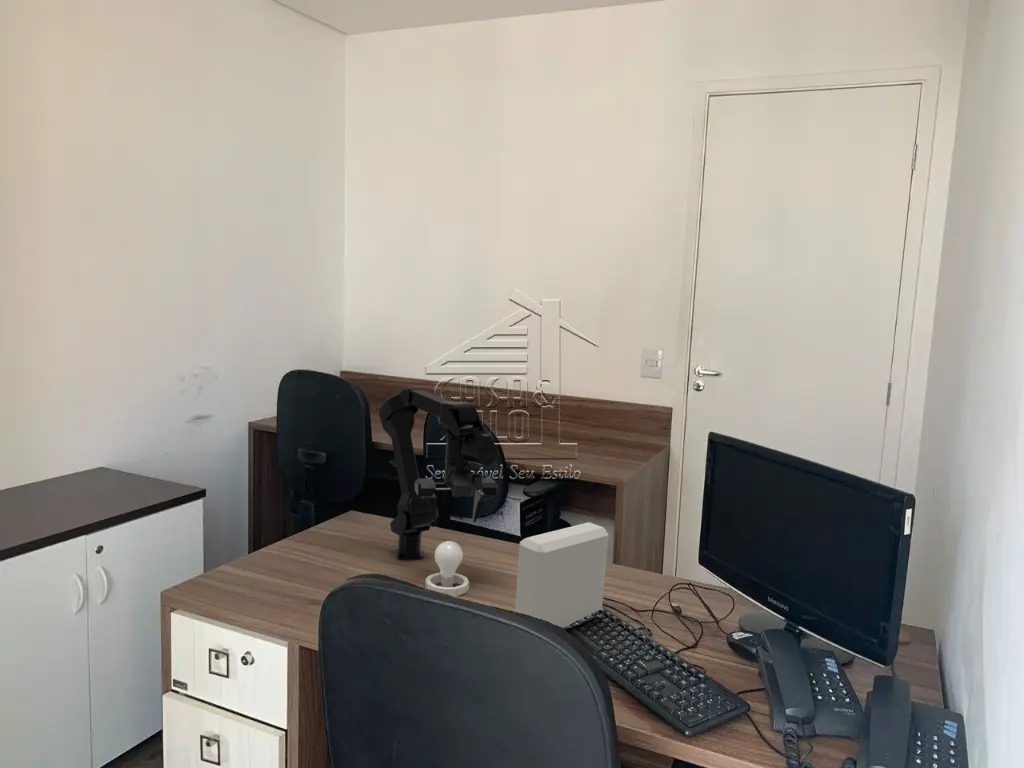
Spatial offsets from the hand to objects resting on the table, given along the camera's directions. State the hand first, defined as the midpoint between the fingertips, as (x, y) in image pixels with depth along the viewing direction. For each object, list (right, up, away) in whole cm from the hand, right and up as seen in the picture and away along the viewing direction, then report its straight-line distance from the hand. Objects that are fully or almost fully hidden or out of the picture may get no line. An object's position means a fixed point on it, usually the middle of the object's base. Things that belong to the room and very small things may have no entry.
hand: (454, 522), depth 175 cm
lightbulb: (-1, -14, -5) cm, 15 cm away
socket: (-1, -14, -6) cm, 15 cm away
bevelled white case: (+23, -18, -20) cm, 35 cm away
